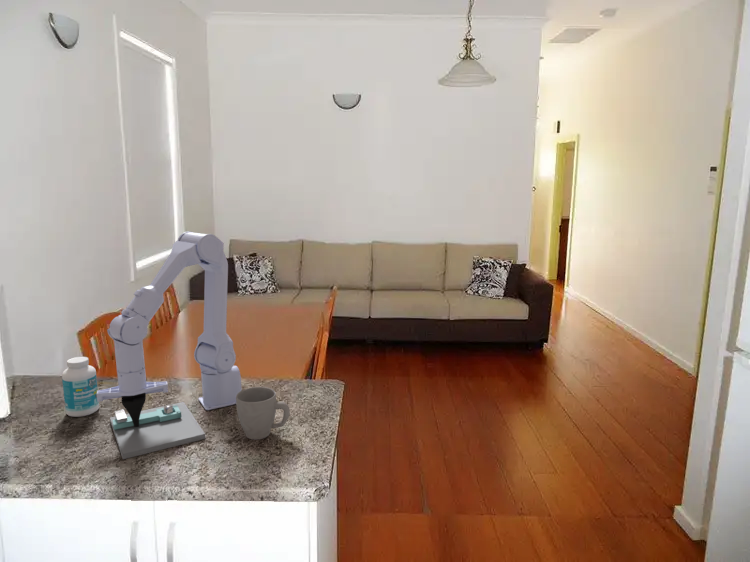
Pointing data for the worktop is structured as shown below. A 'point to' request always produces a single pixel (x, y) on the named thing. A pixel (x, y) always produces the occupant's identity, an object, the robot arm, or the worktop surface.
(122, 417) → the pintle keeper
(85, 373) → the pill bottle
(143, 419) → the link
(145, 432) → the board
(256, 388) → the mug
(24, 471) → the worktop surface
